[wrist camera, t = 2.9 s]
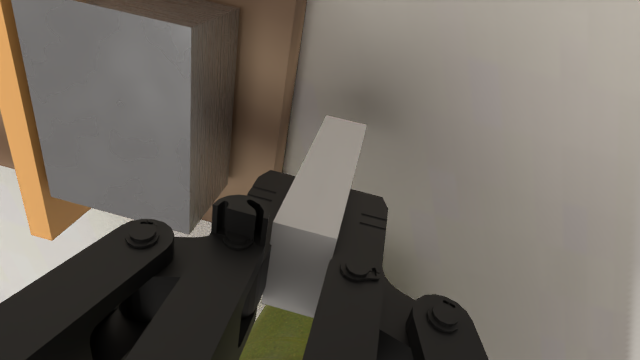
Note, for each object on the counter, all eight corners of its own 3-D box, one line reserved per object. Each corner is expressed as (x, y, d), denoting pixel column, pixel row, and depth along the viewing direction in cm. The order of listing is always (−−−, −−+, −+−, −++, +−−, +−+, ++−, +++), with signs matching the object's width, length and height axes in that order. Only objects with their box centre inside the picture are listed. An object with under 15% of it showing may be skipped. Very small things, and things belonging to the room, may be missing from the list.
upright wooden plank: (108, 193, 22) (51, 240, 18) (91, 188, 22) (31, 234, 19) (74, -104, 15) (-25, -115, 12) (49, -109, 15) (-58, -122, 12)
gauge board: (275, 214, 24) (236, 291, 18) (-103, 114, 25) (-233, 159, 20) (317, -72, 16) (271, -76, 11) (-219, -182, 18) (-467, -229, 13)
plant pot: (282, 208, 23) (220, 333, 16) (436, 276, 24) (444, 431, 16) (239, 310, 28) (176, 441, 21) (366, 365, 28) (348, 514, 21)
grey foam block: (227, 183, 20) (189, 234, 17) (111, 153, 20) (51, 196, 17) (239, 8, 16) (191, 27, 12) (93, -25, 16) (7, -15, 13)
